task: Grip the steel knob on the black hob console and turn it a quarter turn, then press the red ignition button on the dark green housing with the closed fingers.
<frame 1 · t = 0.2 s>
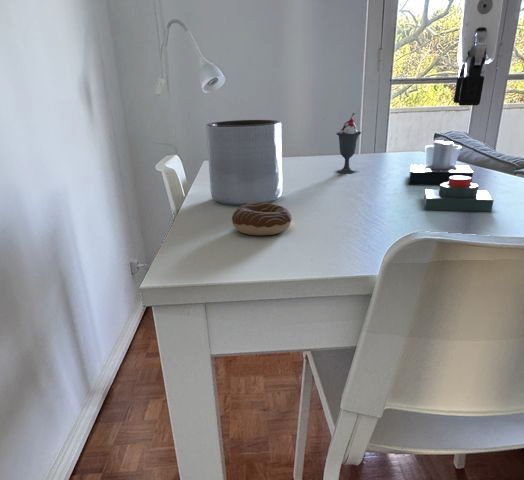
hand: (465, 103, 81), 18 cm above the table, tool pointing down, fingers open, 9 cm apart
ignition button: (459, 182, 92), point 4 cm above the table, slide at 0.1 cm
candle: (439, 172, 128), on the table
planter: (247, 199, 106), on the table
sundae: (346, 172, 133), on the table
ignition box: (455, 205, 94), on the table
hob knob: (442, 155, 113), point 6 cm above the table, hinge at 0.0°
donut: (262, 230, 83), on the table
hob console: (438, 181, 116), on the table
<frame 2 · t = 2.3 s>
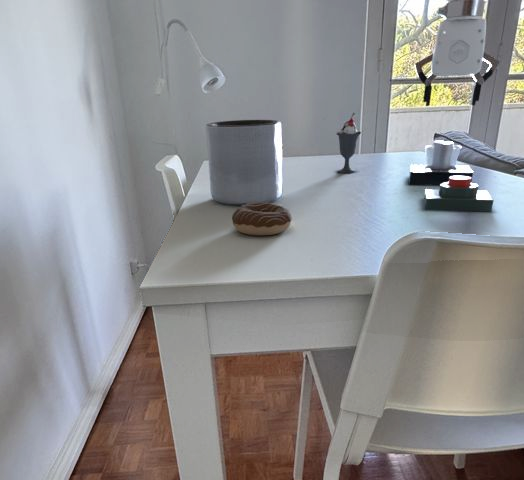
hand: (449, 105, 106), 17 cm above the table, tool pointing down, fingers open, 9 cm apart
nothing on the table moved.
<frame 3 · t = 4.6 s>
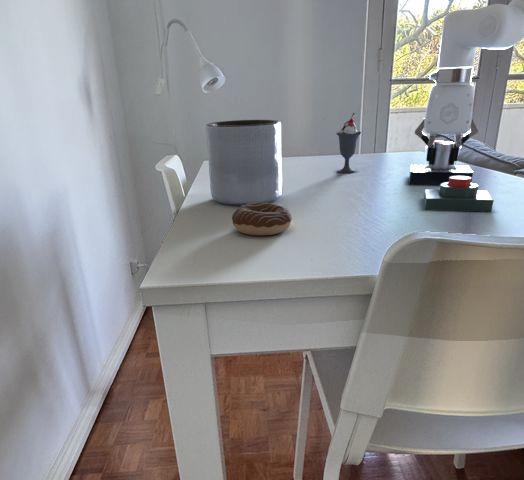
hand: (441, 163, 114), 4 cm above the table, tool pointing down, fingers closed on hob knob, 4 cm apart
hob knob: (442, 155, 113), point 6 cm above the table, hinge at 0.1°, touching gripper
everything else where it was.
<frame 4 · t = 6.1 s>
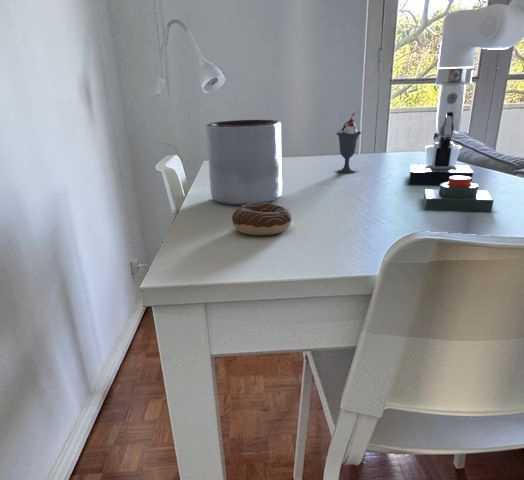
hand: (440, 163, 114), 4 cm above the table, tool pointing down, fingers closed on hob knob, 4 cm apart
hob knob: (442, 155, 113), point 6 cm above the table, hinge at 89.9°, touching gripper
everything else where it was.
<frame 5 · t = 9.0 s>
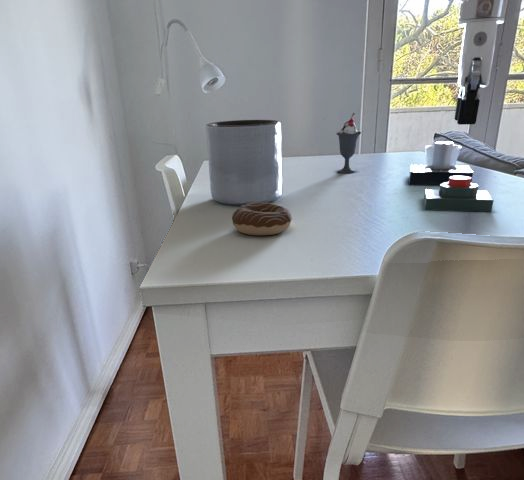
hand: (464, 122, 91), 15 cm above the table, tool pointing down, fingers open, 9 cm apart
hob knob: (442, 155, 113), point 6 cm above the table, hinge at 87.9°
everything else where it was.
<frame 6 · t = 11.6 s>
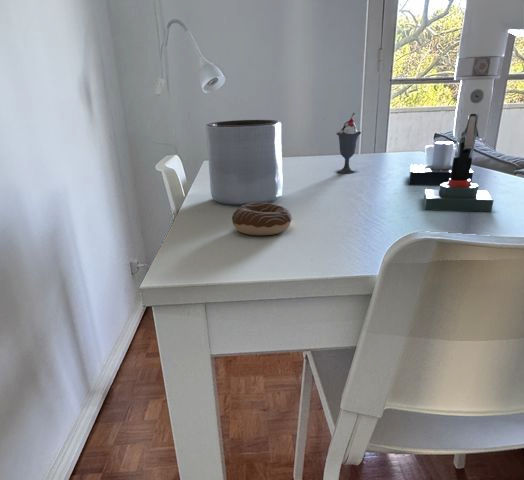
hand: (459, 179, 92), 5 cm above the table, tool pointing down, fingers closed
ignition button: (459, 184, 92), point 4 cm above the table, slide at -0.2 cm, touching gripper
everything else where it was.
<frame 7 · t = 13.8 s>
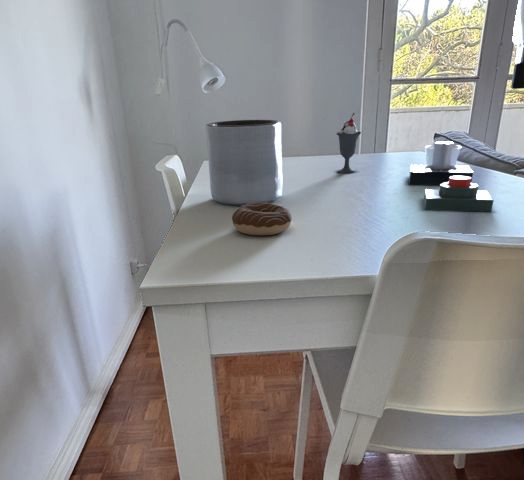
hand: (520, 88, 87), 20 cm above the table, tool pointing down, fingers closed
ignition button: (459, 182, 92), point 4 cm above the table, slide at 0.1 cm
everything else where it was.
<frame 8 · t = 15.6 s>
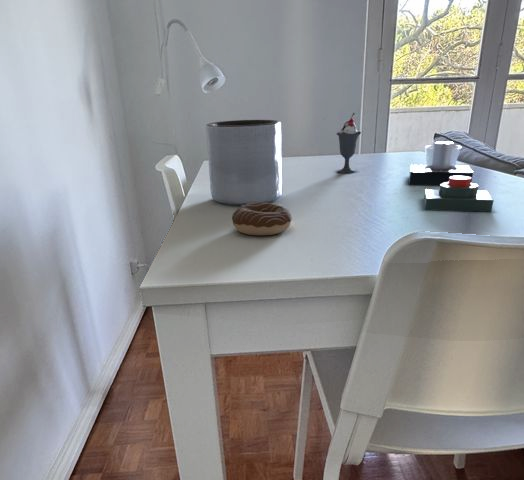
nothing on the table moved.
at the end: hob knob at +88° (first picture: +0°); ignition button pushed in 1.1 cm at the most during the clip, back to where it started at the end; ignition button slide at 0.1 cm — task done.
